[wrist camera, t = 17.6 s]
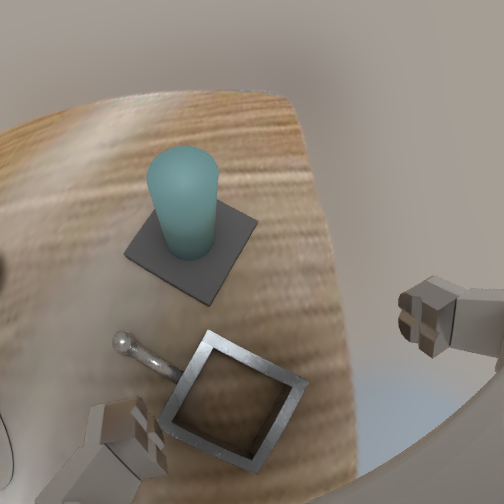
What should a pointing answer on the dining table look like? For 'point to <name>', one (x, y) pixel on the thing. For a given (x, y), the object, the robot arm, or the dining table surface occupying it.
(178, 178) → the teal peg
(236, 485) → the dining table surface
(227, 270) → the rubber mat
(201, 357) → the socket
